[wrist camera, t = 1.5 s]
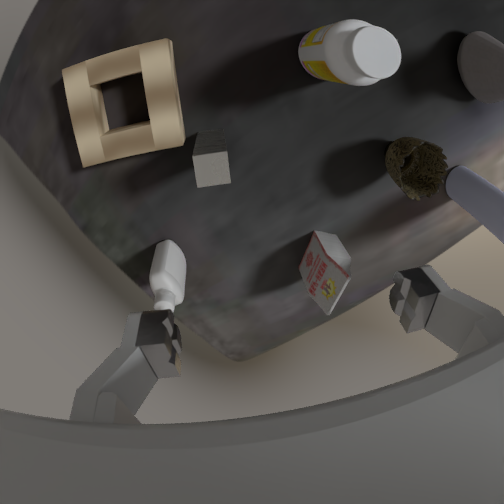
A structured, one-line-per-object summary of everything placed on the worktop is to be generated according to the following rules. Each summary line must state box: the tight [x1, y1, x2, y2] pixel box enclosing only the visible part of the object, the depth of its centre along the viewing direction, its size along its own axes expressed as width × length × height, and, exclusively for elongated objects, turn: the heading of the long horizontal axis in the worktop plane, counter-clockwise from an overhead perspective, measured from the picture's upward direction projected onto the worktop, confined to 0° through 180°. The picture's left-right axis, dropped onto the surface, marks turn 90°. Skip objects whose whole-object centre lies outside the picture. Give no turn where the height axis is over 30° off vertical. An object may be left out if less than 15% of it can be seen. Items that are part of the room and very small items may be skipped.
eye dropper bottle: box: [149, 239, 186, 312], centre depth 37 cm, size 4×6×12 cm
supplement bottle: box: [298, 19, 401, 86], centre depth 24 cm, size 7×7×13 cm
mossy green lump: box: [384, 137, 448, 201], centre depth 34 cm, size 8×7×8 cm
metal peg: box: [192, 129, 231, 188], centre depth 30 cm, size 3×3×10 cm
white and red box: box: [298, 230, 351, 315], centre depth 41 cm, size 4×7×10 cm, turn 165°
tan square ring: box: [62, 38, 186, 168], centre depth 28 cm, size 12×12×4 cm
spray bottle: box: [446, 166, 504, 244], centre depth 31 cm, size 6×6×22 cm
